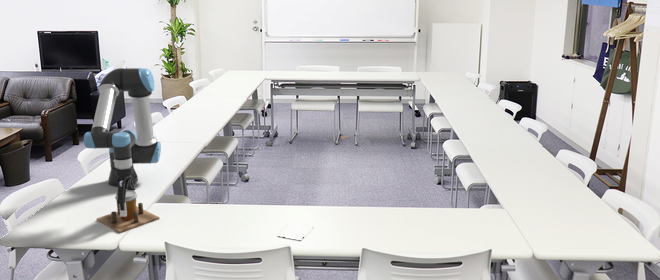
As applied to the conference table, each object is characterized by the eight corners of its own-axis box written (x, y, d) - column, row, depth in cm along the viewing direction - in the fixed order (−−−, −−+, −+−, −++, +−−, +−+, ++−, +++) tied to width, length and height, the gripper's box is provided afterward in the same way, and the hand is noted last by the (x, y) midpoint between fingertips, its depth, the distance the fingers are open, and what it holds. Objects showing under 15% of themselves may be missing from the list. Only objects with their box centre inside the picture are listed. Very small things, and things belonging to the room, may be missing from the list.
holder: (135, 207, 268) (134, 196, 266) (159, 219, 256) (158, 207, 254) (96, 220, 253) (95, 208, 251) (120, 233, 241) (118, 220, 239)
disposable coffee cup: (130, 211, 261) (128, 188, 257) (143, 216, 256) (141, 193, 252) (112, 218, 253) (110, 194, 250) (125, 223, 248) (123, 199, 245)
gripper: (122, 158, 259) (126, 199, 265) (107, 176, 235) (111, 221, 241) (138, 157, 259) (141, 199, 266) (125, 176, 236) (129, 221, 242)
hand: (127, 210), depth 253 cm, fingers open, 13 cm apart
